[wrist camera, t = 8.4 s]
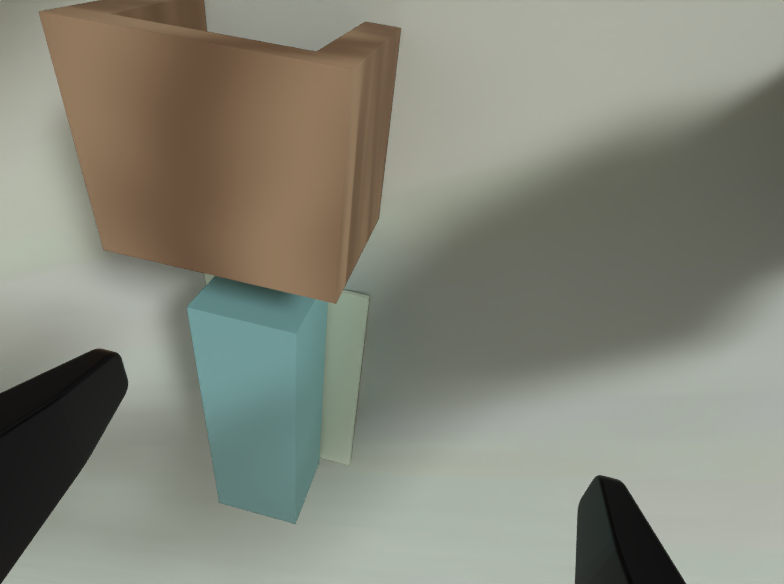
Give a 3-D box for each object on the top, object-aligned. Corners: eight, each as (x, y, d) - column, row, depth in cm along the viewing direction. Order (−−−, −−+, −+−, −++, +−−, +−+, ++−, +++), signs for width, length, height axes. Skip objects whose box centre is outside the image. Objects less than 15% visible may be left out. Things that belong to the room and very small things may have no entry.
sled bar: (329, 275, 22) (296, 333, 19) (319, 461, 31) (295, 524, 27) (234, 253, 22) (186, 307, 19) (250, 443, 31) (219, 502, 28)
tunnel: (401, 28, 16) (352, 69, 12) (378, 218, 20) (336, 303, 16) (170, -13, 17) (38, 11, 12) (194, 179, 21) (103, 249, 17)
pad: (369, 295, 23) (368, 298, 23) (350, 462, 31) (349, 465, 31) (204, 258, 24) (202, 260, 24) (226, 430, 32) (225, 432, 31)
